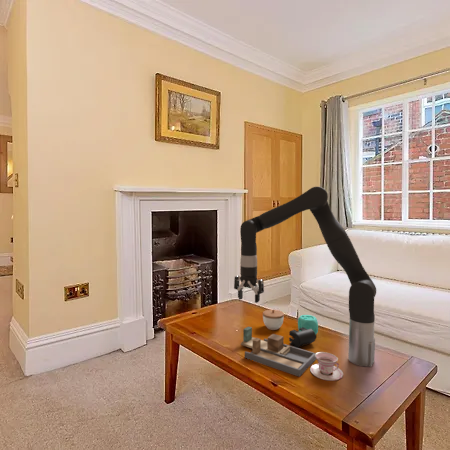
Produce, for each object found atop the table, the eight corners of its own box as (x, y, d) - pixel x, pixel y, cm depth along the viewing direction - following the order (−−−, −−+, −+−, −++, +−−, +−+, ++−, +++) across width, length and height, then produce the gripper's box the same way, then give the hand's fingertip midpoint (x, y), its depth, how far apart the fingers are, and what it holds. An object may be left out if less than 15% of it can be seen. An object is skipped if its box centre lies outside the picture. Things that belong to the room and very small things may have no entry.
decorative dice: (318, 336, 152) (318, 320, 152) (301, 336, 152) (301, 320, 152) (313, 330, 160) (313, 314, 160) (297, 330, 160) (297, 314, 160)
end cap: (299, 350, 138) (299, 335, 137) (288, 344, 144) (288, 329, 143) (315, 345, 143) (316, 330, 143) (304, 339, 149) (304, 325, 149)
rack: (316, 359, 130) (316, 353, 130) (299, 376, 116) (299, 370, 116) (264, 343, 144) (264, 338, 144) (244, 357, 131) (244, 351, 131)
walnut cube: (283, 348, 136) (283, 336, 135) (277, 352, 132) (278, 340, 131) (272, 344, 139) (273, 333, 138) (267, 349, 135) (267, 337, 134)
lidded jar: (283, 332, 157) (284, 313, 157) (262, 331, 159) (262, 312, 158) (283, 324, 168) (283, 307, 167) (262, 323, 169) (263, 305, 169)
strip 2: (302, 366, 122) (302, 350, 122) (296, 371, 118) (297, 354, 118) (257, 351, 134) (257, 336, 134) (251, 356, 130) (251, 341, 130)
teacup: (303, 372, 120) (304, 356, 120) (320, 361, 128) (320, 346, 128) (333, 385, 111) (333, 368, 111) (349, 373, 119) (349, 357, 119)
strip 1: (290, 350, 135) (290, 335, 135) (281, 357, 129) (282, 342, 129) (250, 338, 147) (250, 325, 147) (240, 344, 141) (241, 330, 140)
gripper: (266, 265, 140) (266, 301, 141) (240, 262, 149) (239, 296, 150) (258, 268, 134) (258, 305, 135) (230, 264, 143) (230, 299, 144)
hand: (248, 300), depth 142 cm, fingers open, 8 cm apart
